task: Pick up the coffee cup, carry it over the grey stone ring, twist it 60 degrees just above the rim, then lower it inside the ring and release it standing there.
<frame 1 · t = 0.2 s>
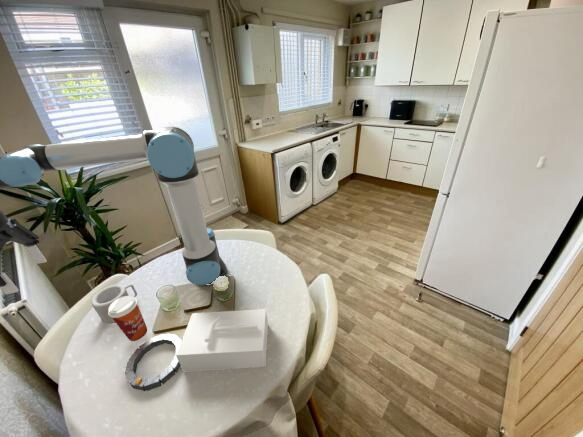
hand: (28, 276, 73), 28 cm above the table, fingers open, 13 cm apart
grey stone ring: (157, 362, 76), on the table
mug: (122, 310, 95), on the table
white hammer box: (229, 347, 79), on the table
coffee cup: (138, 333, 85), on the table
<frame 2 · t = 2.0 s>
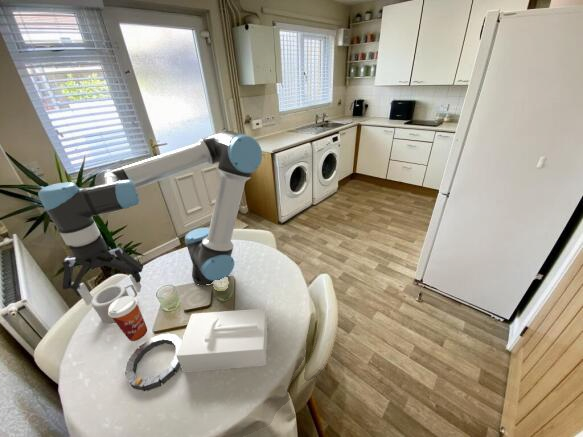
hand: (115, 295, 76), 19 cm above the table, fingers open, 13 cm apart
nothing on the table moved.
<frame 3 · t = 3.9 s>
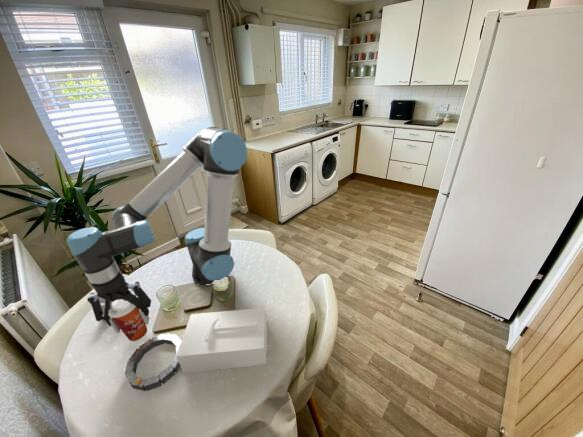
hand: (133, 325, 83), 4 cm above the table, fingers closed on coffee cup, 8 cm apart
coffee cup: (138, 333, 85), on the table, touching gripper
everything else where it was.
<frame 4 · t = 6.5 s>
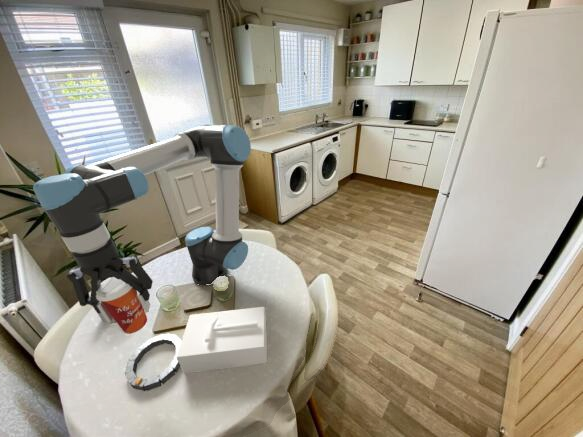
hand: (129, 313, 65), 23 cm above the table, fingers closed on coffee cup, 8 cm apart
coffee cup: (135, 324, 67), point 18 cm above the table, touching gripper
everything else where it was.
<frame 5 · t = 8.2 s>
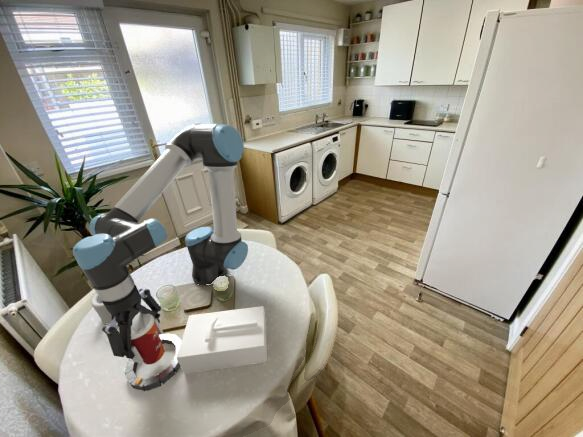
hand: (149, 346, 72), 8 cm above the table, fingers closed on coffee cup, 8 cm apart
coffee cup: (154, 355, 74), point 4 cm above the table, touching gripper
everything else where it was.
when the fingers open (6 cm above the table, at t = 9.4 s): coffee cup drops 1 cm, resting in grey stone ring.
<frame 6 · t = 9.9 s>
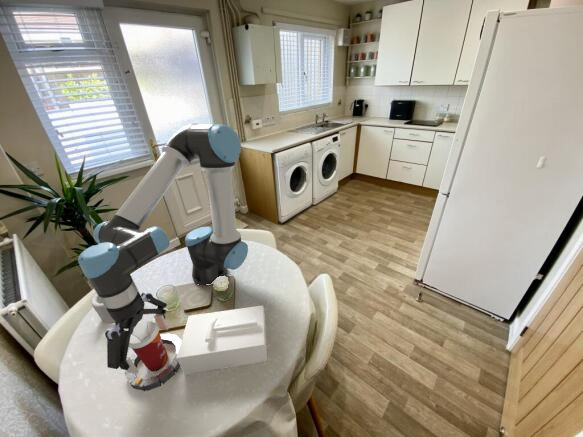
hand: (150, 348, 72), 7 cm above the table, fingers open, 13 cm apart
coffee cup: (158, 362, 76), resting in grey stone ring
everything else where it was.
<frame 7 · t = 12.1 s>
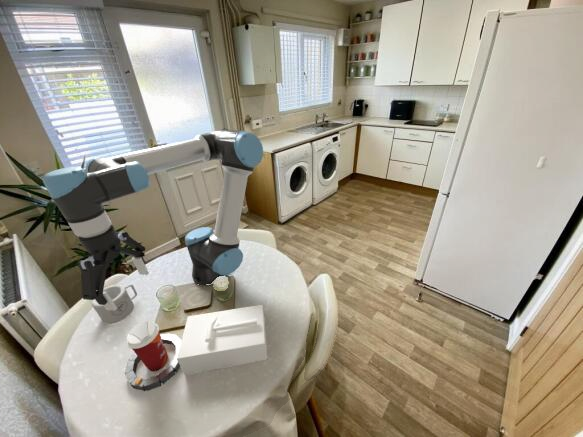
hand: (129, 290, 71), 24 cm above the table, fingers open, 13 cm apart
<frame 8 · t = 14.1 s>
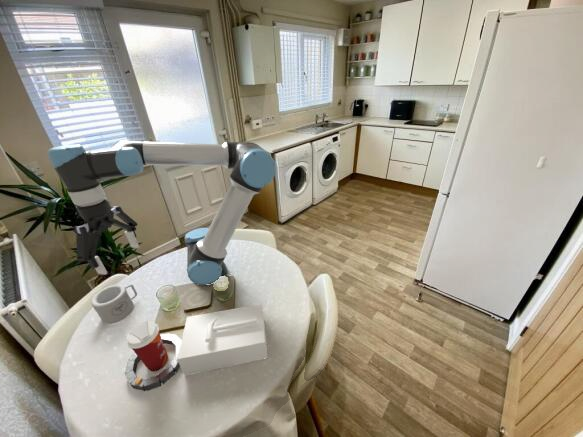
hand: (120, 259, 79), 27 cm above the table, fingers open, 13 cm apart
at the end: coffee cup 0.1 cm from the grey stone ring (horizontally); coffee cup tilted 0°; the gripper is holding nothing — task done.
